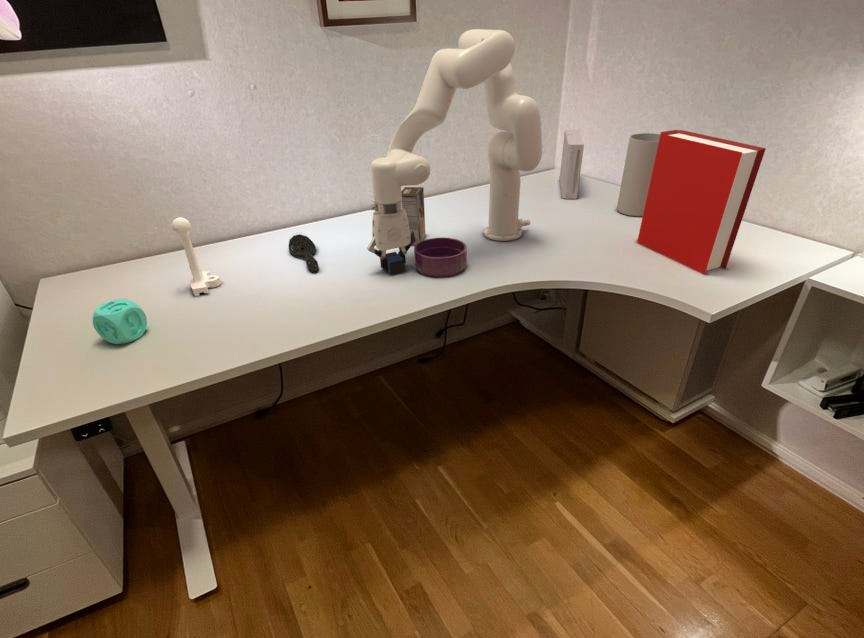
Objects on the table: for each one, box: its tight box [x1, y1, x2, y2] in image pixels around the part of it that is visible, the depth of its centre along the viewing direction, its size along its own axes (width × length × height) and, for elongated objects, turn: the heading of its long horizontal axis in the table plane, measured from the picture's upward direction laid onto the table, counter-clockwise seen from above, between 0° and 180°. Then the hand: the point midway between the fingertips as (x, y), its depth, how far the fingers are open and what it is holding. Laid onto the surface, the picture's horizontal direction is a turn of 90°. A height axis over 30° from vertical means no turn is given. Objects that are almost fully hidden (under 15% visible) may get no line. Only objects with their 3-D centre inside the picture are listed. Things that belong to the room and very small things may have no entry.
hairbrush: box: [288, 232, 320, 274], centre depth 156 cm, size 8×4×25 cm
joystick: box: [171, 216, 222, 297], centre depth 137 cm, size 11×8×20 cm
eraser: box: [386, 251, 406, 276], centre depth 147 cm, size 5×7×4 cm, turn 25°
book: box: [636, 129, 767, 275], centre depth 141 cm, size 27×8×32 cm, turn 24°
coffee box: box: [401, 186, 426, 246], centre depth 161 cm, size 9×6×16 cm
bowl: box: [413, 237, 468, 278], centre depth 146 cm, size 15×15×6 cm
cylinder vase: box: [616, 132, 661, 217], centre depth 174 cm, size 12×12×25 cm
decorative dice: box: [92, 298, 148, 345], centre depth 119 cm, size 8×8×8 cm
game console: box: [558, 129, 585, 200], centre depth 200 cm, size 6×27×20 cm, turn 171°
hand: (393, 267), depth 147 cm, fingers closed on eraser, 4 cm apart
